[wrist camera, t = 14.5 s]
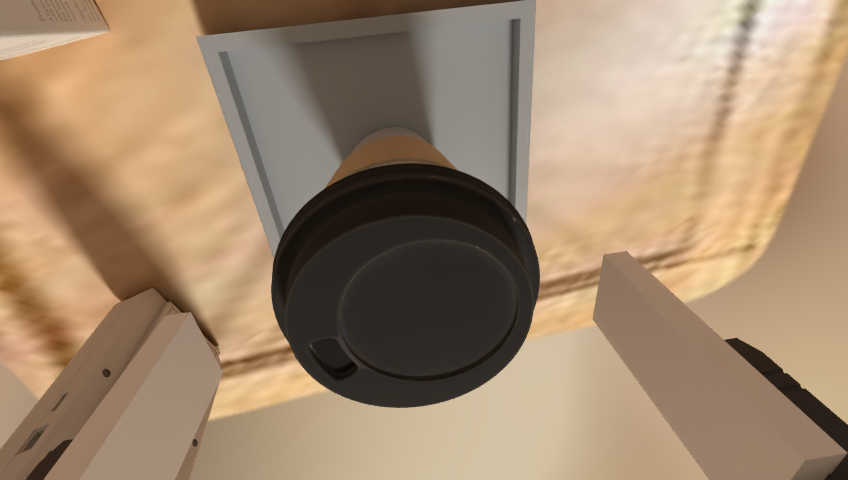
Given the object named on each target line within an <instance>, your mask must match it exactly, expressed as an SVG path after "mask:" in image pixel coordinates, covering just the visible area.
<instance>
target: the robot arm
mask: <svg viewBox="0 0 848 480" xmlns="http://www.w3.org/2000/svg"><path fill="white" fill-rule="evenodd" d="M593 320H594V322H595V323H596V324H597V326H598V327H599V328H600V330H601V331H602V332H603V334H604V335H605V337H606V338H607V340H608V341H609V342H610V344H611V345H612V346H613V348H614V349H615V350H616V352H617V353H618V355H619V356H620V357H621V359H622V360H623V362H624V363H625V364H626V366H627V367H628V368H629V370H630V371H631V372H632V374H633V375H634V377H635V378H636V379H637V381H638V382H639V384H640V385H641V386H642V388H643V389H644V390H645V392H646V393H647V395H648V396H649V397H650V399H651V400H652V401H653V403H654V404H655V406H656V407H657V408H658V410H659V411H660V412H661V414H662V415H663V417H664V418H665V419H666V421H667V422H668V423H669V425H670V426H671V427H672V429H673V430H674V432H675V433H676V434H677V436H678V437H679V439H680V440H681V441H682V443H683V444H684V446H685V447H686V448H687V450H688V451H689V452H690V454H691V455H692V457H693V458H694V459H695V461H696V462H697V463H698V465H699V466H700V468H701V469H702V470H703V472H704V473H705V474H706V476H707V477H708V479H709V480H848V425H847V424H846V423H845V422H844V421H842V420H841V419H840V418H839V417H838V416H837V415H835V414H834V413H833V412H832V411H831V410H830V409H829V408H827V407H826V406H825V405H824V404H823V403H821V402H820V401H819V400H818V399H817V398H816V397H814V396H813V395H812V394H811V393H810V392H808V391H807V390H806V389H802V388H801V386H800V384H799V383H798V382H797V381H796V380H794V379H793V378H792V377H791V376H790V375H789V374H787V373H786V374H785V373H784V372H783V369H782V368H780V367H779V366H778V365H777V364H775V363H774V362H773V361H772V360H771V359H770V358H769V357H767V356H766V355H765V354H764V353H763V352H761V351H759V350H758V349H756V348H754V347H752V346H750V345H749V344H747V343H745V342H743V341H741V340H739V339H738V338H733V339H727V340H723V339H722V338H721V337H720V336H719V335H718V334H717V333H715V331H713V330H712V329H711V328H710V327H709V326H708V325H706V323H705V322H704V321H702V320H701V319H700V318H699V317H698V316H697V315H696V314H695V313H694V312H693V311H692V310H690V309H689V308H688V307H687V306H686V305H685V304H684V303H683V302H682V301H681V300H679V299H678V298H677V297H676V296H675V295H674V294H673V293H672V292H671V291H670V290H668V289H667V288H666V287H665V286H664V285H663V284H662V283H661V282H660V281H659V280H658V279H656V278H655V277H654V276H653V275H652V274H651V273H650V272H649V271H648V270H647V269H645V268H644V267H643V266H642V265H641V264H640V263H639V262H638V261H637V260H636V259H635V258H633V257H632V256H631V255H630V254H629V253H628V252H627V251H626V252H619V253H611V254H604V256H603V262H602V268H601V273H600V279H599V285H598V291H597V297H596V303H595V308H594V314H593ZM222 374H223V372H222V370H221V368H220V366H219V364H218V362H217V361H216V359H215V357H214V355H213V353H212V351H211V349H210V347H209V346H208V344H207V342H206V340H205V338H204V336H203V334H202V332H201V331H200V329H199V327H198V325H197V323H196V321H195V319H194V317H193V316H192V314H191V312H187V313H180V314H173V315H165V317H164V318H163V319H162V321H161V322H160V323H159V325H158V326H157V327H156V329H155V330H154V331H153V333H152V334H151V336H150V337H149V338H148V340H147V341H146V342H145V344H144V345H143V346H142V348H141V349H140V350H139V352H138V353H137V354H136V356H135V357H134V358H133V360H132V361H131V362H130V364H129V365H128V367H127V368H126V369H125V371H124V372H123V373H122V375H121V376H120V377H119V379H118V380H117V381H116V383H115V384H114V385H113V387H112V388H111V389H110V391H109V392H108V393H107V395H106V396H105V398H104V399H103V400H102V402H101V403H100V404H99V406H98V407H97V408H96V410H95V411H94V412H93V414H92V415H91V416H90V418H89V419H88V420H87V422H86V423H85V424H84V426H83V427H82V429H81V430H80V431H79V433H78V434H77V435H76V437H75V438H74V439H70V440H64V441H63V442H62V443H61V444H59V445H58V446H57V447H56V448H55V449H54V450H53V451H52V452H50V453H49V454H48V455H47V456H46V457H45V458H44V459H43V460H41V461H40V462H39V463H38V464H37V466H36V467H35V468H34V469H33V471H32V472H31V473H30V475H29V476H28V477H27V478H26V480H175V478H176V476H177V474H178V472H179V469H180V467H181V465H182V463H183V461H184V458H185V456H186V454H187V452H188V450H189V447H190V445H191V443H192V441H193V438H194V436H195V434H196V432H197V430H198V427H199V425H200V423H201V421H202V419H203V416H204V414H205V412H206V410H207V408H208V405H209V403H210V401H211V399H212V396H213V394H214V392H215V390H216V388H217V385H218V383H219V381H220V379H221V377H222Z"/></svg>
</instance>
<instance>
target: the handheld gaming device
mask: <svg viewBox="0 0 848 480" xmlns="http://www.w3.org/2000/svg"><path fill="white" fill-rule="evenodd" d="M180 313H181V312H180V311H179V310H178V309H177V308H176V307H175V306H174V305H173V304H172V303H171V301H169V302H167V301H166V300H165V299H164V298H163V297H162V296H161V295H160V294H159V293H158V292H157V291H156V290H155V289H153V288H151V289H149V290H146V291H144V292H142V293H140V294H138V295H135V296H133V297H131V298H129V299H126V300H124V301H122V302H120V303H118V304H116V305H115V306H114V307H113V308H112V309H111V311H110V312H109V313H108V314H107V316H106V317H105V318H104V319H103V321H102V322H101V323H100V324H99V326H98V327H97V328H96V329H95V331H94V332H93V333H92V334H91V336H90V337H89V338H88V340H87V341H86V342H85V343H84V345H83V346H82V347H81V348H80V350H79V351H78V352H77V353H76V355H75V356H74V357H73V358H72V360H71V361H70V362H69V363H68V365H67V366H66V367H65V369H64V370H63V371H62V372H61V374H60V375H59V376H58V377H57V379H56V380H55V381H54V382H53V384H52V385H51V386H50V387H49V389H48V390H47V391H46V392H45V394H44V395H43V396H42V398H41V399H40V400H39V401H38V403H37V404H36V405H35V406H34V408H33V409H32V410H31V412H30V413H29V414H28V415H27V417H26V418H25V419H24V420H23V422H22V423H21V424H20V425H19V427H18V428H17V429H16V430H15V432H14V433H13V434H12V435H11V437H10V438H9V439H8V440H7V442H6V443H5V444H4V445H3V447H2V448H1V449H0V480H26V478H27V477H28V476H29V475H30V473H31V472H32V471H33V469H34V468H35V467H36V466H37V464H38V463H39V462H40V461H41V460H43V459H44V458H45V457H46V456H47V455H48V454H49V453H50V452H52V451H53V450H54V449H55V448H56V447H57V446H58V445H59V444H61V443H62V442H63V441H64V440H70V439H74V438H75V437H76V435H77V434H78V433H79V431H80V430H81V429H82V427H83V426H84V424H85V423H86V422H87V420H88V419H89V418H90V416H91V415H92V414H93V412H94V411H95V410H96V408H97V407H98V406H99V404H100V403H101V402H102V400H103V399H104V398H105V396H106V395H107V393H108V392H109V391H110V389H111V388H112V387H113V385H114V384H115V383H116V381H117V380H118V379H119V377H120V376H121V375H122V373H123V372H124V371H125V369H126V368H127V367H128V365H129V364H130V362H131V361H132V360H133V358H134V357H135V356H136V354H137V353H138V352H139V350H140V349H141V348H142V346H143V345H144V344H145V342H146V341H147V340H148V338H149V337H150V336H151V334H152V333H153V331H154V330H155V329H156V327H157V326H158V325H159V323H160V322H161V321H162V319H163V318H164V317H165V315H173V314H180ZM203 336H204V335H203ZM204 338H205V340H206V342H207V344H208V346H209V347H210V349H211V351H212V353H213V355H214V357H215V359H216V361H217V362H218V364H219V366H220V368H221V370H222V367H221V362H220V359H219V353H220V352H219V351H218V350H217V349H216V348H215V347H214V346H213V344H212V343H211V342H210V341H209V340H208V339H207V338H206V337H205V336H204ZM219 382H220V381H219ZM218 385H219V383H218ZM218 385H217V388H218ZM217 388H216V390H215V392H214V394H213V396H212V399H211V401H210V403H209V405H208V408H207V410H206V412H205V414H204V416H203V419H202V421H201V423H200V425H199V427H198V430H197V432H196V434H195V436H194V438H193V441H192V443H191V445H190V447H189V450H188V452H187V454H186V456H185V458H184V461H183V463H182V465H181V467H180V469H179V472H178V474H177V476H176V478H175V480H190V478H191V475H192V472H193V468H194V465H195V461H196V458H197V454H198V452H199V448H200V445H201V441H202V438H203V435H204V432H205V428H206V425H207V422H208V418H209V415H210V412H211V408H212V405H213V402H214V398H215V395H216V392H217Z"/></svg>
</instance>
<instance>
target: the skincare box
mask: <svg viewBox="0 0 848 480" xmlns="http://www.w3.org/2000/svg"><path fill="white" fill-rule="evenodd" d="M109 31H110V30H109V27H108V26H107V24H106V22H105V20H104V19H103V17H102V15H101V13H100V12H99V10H98V8H97V6H96V5H95V3H94V1H93V0H0V60H4V59H9V58H13V57H17V56H21V55H25V54H29V53H33V52H37V51H41V50H45V49H48V48H52V47H56V46H60V45H64V44H67V43H71V42H75V41H78V40H82V39H86V38H89V37H93V36H97V35H100V34H104V33H107V32H109Z"/></svg>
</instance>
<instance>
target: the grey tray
mask: <svg viewBox="0 0 848 480" xmlns="http://www.w3.org/2000/svg"><path fill="white" fill-rule="evenodd" d="M535 11H536V0H523V1H514V2H505V3H496V4H487V5H478V6H469V7H460V8H451V9H442V10H432V11H423V12H414V13H405V14H396V15H387V16H378V17H369V18H360V19H351V20H342V21H332V22H323V23H314V24H305V25H296V26H287V27H278V28H269V29H260V30H251V31H242V32H232V33H223V34H214V35H205V36H196V38H197V40H198V43H199V46H200V49H201V52H202V55H203V57H204V60H205V63H206V66H207V69H208V72H209V75H210V77H211V80H212V83H213V86H214V89H215V92H216V94H217V97H218V100H219V103H220V106H221V109H222V111H223V114H224V117H225V120H226V123H227V126H228V129H229V131H230V134H231V137H232V140H233V143H234V146H235V148H236V151H237V154H238V157H239V160H240V163H241V166H242V168H243V171H244V174H245V177H246V180H247V183H248V185H249V188H250V191H251V194H252V197H253V200H254V202H255V205H256V208H257V211H258V214H259V217H260V220H261V222H262V225H263V228H264V231H265V234H266V237H267V239H268V242H269V245H270V248H271V251H272V254H273V257H274V258H275V253H276V250H277V247H278V244H279V242H280V239H281V237H282V235H283V233H284V231H285V230H286V228H287V226H288V224H289V223H290V222H291V220H292V219H293V218H294V216H295V215H296V214H297V212H298V211H299V210H300V209H301V208H302V207H303V206H304V205H305V204H306V203H307V202H308V201H309V200H311V199H312V198H313V197H314V196H315V195H317V194H318V193H319V192H321V191H322V190H323V189H325V187H326V186H327V184H328V183H329V181H330V180H331V178H332V177H333V175H334V174H335V172H336V171H337V169H338V168H339V166H340V165H341V163H342V162H343V161H344V160H345V159H346V158H347V157H348V156H349V155H350V154H351V153H352V151H353V150H354V149H355V147H356V146H357V144H358V143H359V142H361V141H362V140H363V139H364V138H365V137H367V136H368V135H370V134H371V133H373V132H375V131H378V130H380V129H384V128H388V127H401V128H407V129H409V130H411V131H414V132H416V133H417V134H418V135H420V136H421V137H422V138H423V139H424V140H425V141H426V142H427V143H429V144H430V145H432V146H433V147H434V148H436V149H437V150H438V151H440V152H441V153H442V154H443V155H444V156H445V157H446V158H447V160H448V161H449V162H450V163H451V164H452V165H453V166H454V167H455V168H456V169H457V170H458V171H461V172H464V173H467V174H469V175H471V176H474V177H476V178H478V179H480V180H482V181H483V182H485V183H487V184H488V185H490V186H491V187H493V188H494V189H495V190H497V191H498V192H499V193H501V194H502V195H503V196H504V197H505V198H506V199H507V200H508V201H509V202H510V203H511V204H512V205H513V206H514V207H515V209H516V210H517V211H518V212H519V214H520V215H521V217H522V218H523V220H524V222H525V224H526V213H527V191H528V168H529V146H530V123H531V101H532V78H533V56H534V33H535Z"/></svg>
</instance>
